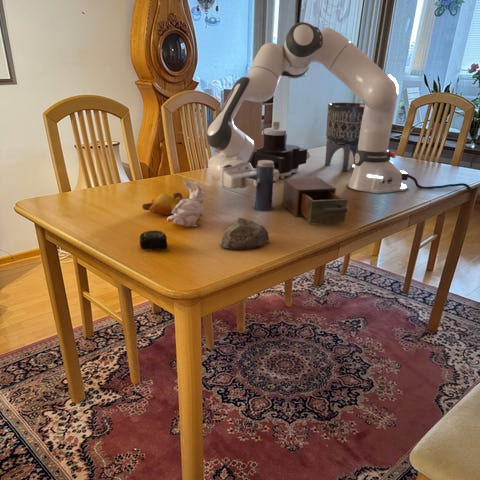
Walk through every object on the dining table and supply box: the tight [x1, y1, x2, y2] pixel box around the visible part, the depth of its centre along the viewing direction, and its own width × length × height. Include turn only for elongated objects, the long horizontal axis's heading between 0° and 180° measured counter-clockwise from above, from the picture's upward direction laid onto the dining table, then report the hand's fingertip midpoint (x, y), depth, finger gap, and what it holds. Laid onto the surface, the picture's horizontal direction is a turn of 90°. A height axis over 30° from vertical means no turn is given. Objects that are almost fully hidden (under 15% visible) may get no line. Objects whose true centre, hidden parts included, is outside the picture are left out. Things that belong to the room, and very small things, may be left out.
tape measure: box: [139, 229, 168, 251], centre depth 117 cm, size 7×7×4 cm
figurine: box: [166, 178, 207, 227], centre depth 132 cm, size 8×15×13 cm, turn 145°
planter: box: [324, 102, 365, 172], centre depth 204 cm, size 20×20×26 cm
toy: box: [141, 192, 183, 216], centre depth 144 cm, size 11×6×15 cm
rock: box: [220, 217, 270, 251], centre depth 120 cm, size 13×9×6 cm, turn 131°
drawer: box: [299, 191, 349, 225], centre depth 138 cm, size 18×11×7 cm, turn 14°
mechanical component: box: [249, 121, 311, 180], centre depth 191 cm, size 22×21×30 cm
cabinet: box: [282, 177, 337, 218], centre depth 149 cm, size 14×12×8 cm
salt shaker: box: [254, 160, 274, 212], centre depth 147 cm, size 6×6×15 cm
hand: (266, 182), depth 146 cm, fingers closed on salt shaker, 5 cm apart
